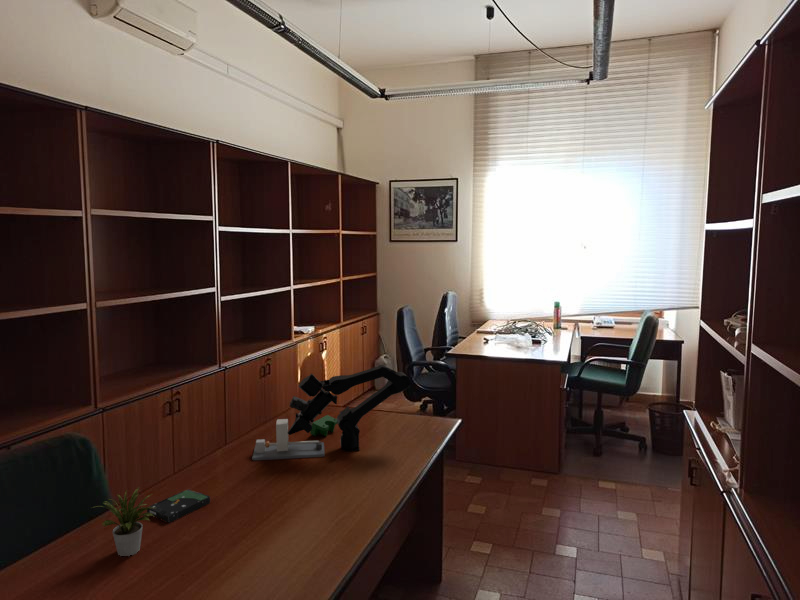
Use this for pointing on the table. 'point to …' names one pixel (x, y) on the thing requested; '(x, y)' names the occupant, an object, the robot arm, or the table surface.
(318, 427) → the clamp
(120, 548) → the house plant
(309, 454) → the flat grey panel
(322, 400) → the robot arm
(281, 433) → the stepped pale block
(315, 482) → the table surface
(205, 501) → the disk drive
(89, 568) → the table surface
